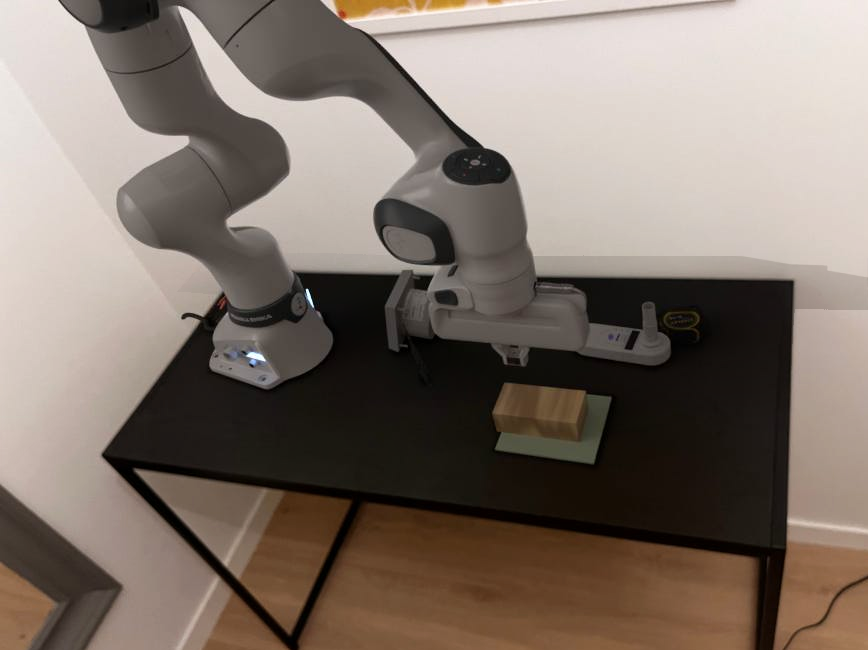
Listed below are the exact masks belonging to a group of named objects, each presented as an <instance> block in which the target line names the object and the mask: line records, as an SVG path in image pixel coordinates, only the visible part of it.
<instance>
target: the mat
mask: <svg viewBox="0 0 868 650" xmlns="http://www.w3.org/2000/svg"><path fill="white" fill-rule="evenodd" d="M586 395H587V403H588V413H587V417H586V420H585V424H584V427H583V431H582V434H581V438H580V441H579V442H574V441H566V440H558V439H551V438H543V437H535V436H528V435H520V434H512V433H505V432H500V435H499V438H498V440H497V442H496V446H495V448H494V450H495V451H499V452H505V453H512V454H519V455H525V456H526V455H527V456H533V457H538V458H539V457H540V458H547V459H554V460H560V461H567V462H575V463H581V464H587V465H595V464H596V463H595V462H596V459H597V455H598V452H599V449H600V448H599V447H600V445H601V440H602V436H603V432H604V429H605V426H606V425H605V424H606V422H607V417H608V414H609V411H610V410H609V409H610V406H611V402H612V400H613V399H612V396H608V395H607V396H605V395H597V394H588V393H586Z"/></svg>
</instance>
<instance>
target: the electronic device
mask: <svg viewBox="0 0 868 650" xmlns="http://www.w3.org/2000/svg"><path fill="white" fill-rule="evenodd" d="M641 310H642V311H641V312H642V329H639V328H633V327H625V326H624V327H623V326H616V325H610V324H602V323H594V322H591V323H590V322H589V325H590V332H589V337H588V340H587V343H586V345H585V346H584V347H583V348H582V349H581V350H580V351H576V352H577V353H578V354H580V355H581V356H586V357H592V358H598V359H604V360H612V361H617V362H624V363H630V364H638V365H643V366H659V365H661V364H663V363H666V362H667V360H669V358H671V355H672V348H671V347H672V346H671V345H672V344H670V339H669V338H668V337H667V336H666V335H664V334H663V333H661V332H660V331H658V320H657V318H656V305H655V303H654V302H652V301H646V302H644V303H642V305H641Z"/></svg>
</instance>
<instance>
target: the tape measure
mask: <svg viewBox="0 0 868 650" xmlns="http://www.w3.org/2000/svg"><path fill="white" fill-rule="evenodd" d="M655 314H656V320H657V326H658V327H659V328H660V331H659V332H660V333H663V334H664V335H666V336H667V337H668V338H669V339H670V345H674V346H679V347H682V346H683V347H685V346H690V345H694V344H697V343H698V342H699V341H701V340H702V339H703V338H704V337H705V334H706V329H707V319H706V316H705V314H704V312H703V308H702V307H701V306H700V305H698V304H690V305H685V306H678V307H672V308H671V307H670V308H661V309H658V310H656V311H655Z"/></svg>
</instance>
